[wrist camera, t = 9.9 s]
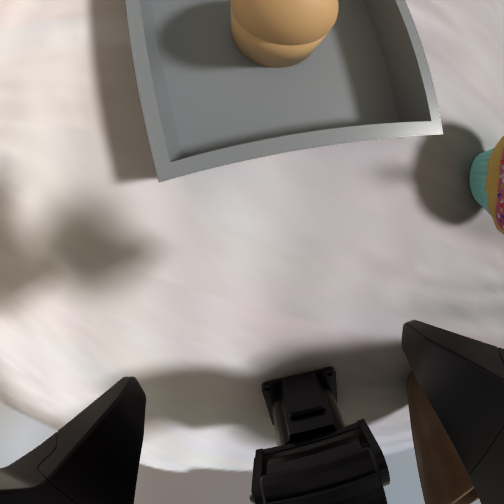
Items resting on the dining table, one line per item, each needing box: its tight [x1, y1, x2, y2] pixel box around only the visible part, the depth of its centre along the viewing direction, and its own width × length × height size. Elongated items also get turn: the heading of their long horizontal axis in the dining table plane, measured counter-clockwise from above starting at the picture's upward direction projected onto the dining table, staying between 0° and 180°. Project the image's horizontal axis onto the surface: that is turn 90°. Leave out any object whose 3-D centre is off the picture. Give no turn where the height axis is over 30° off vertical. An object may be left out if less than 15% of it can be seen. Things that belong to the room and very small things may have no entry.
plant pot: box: [407, 371, 479, 504], centre depth 17 cm, size 15×15×16 cm
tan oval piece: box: [230, 0, 339, 68], centre depth 11 cm, size 5×5×7 cm
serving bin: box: [125, 0, 443, 182], centre depth 13 cm, size 16×16×4 cm
